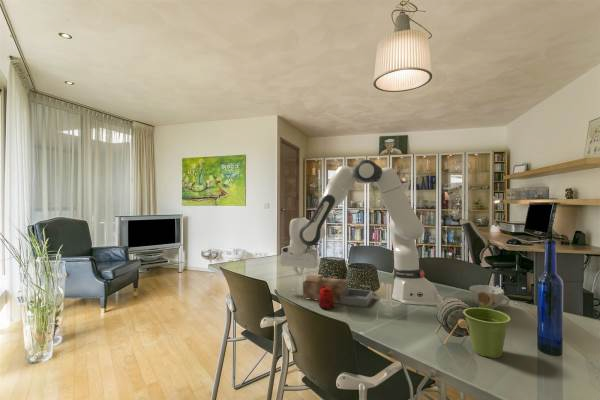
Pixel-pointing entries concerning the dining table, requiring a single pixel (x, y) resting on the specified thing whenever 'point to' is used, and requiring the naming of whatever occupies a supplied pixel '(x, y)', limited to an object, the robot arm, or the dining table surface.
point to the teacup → (488, 290)
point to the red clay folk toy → (326, 297)
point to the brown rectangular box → (336, 286)
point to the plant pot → (487, 330)
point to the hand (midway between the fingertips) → (299, 275)
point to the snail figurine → (485, 300)
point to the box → (356, 297)
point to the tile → (313, 278)
